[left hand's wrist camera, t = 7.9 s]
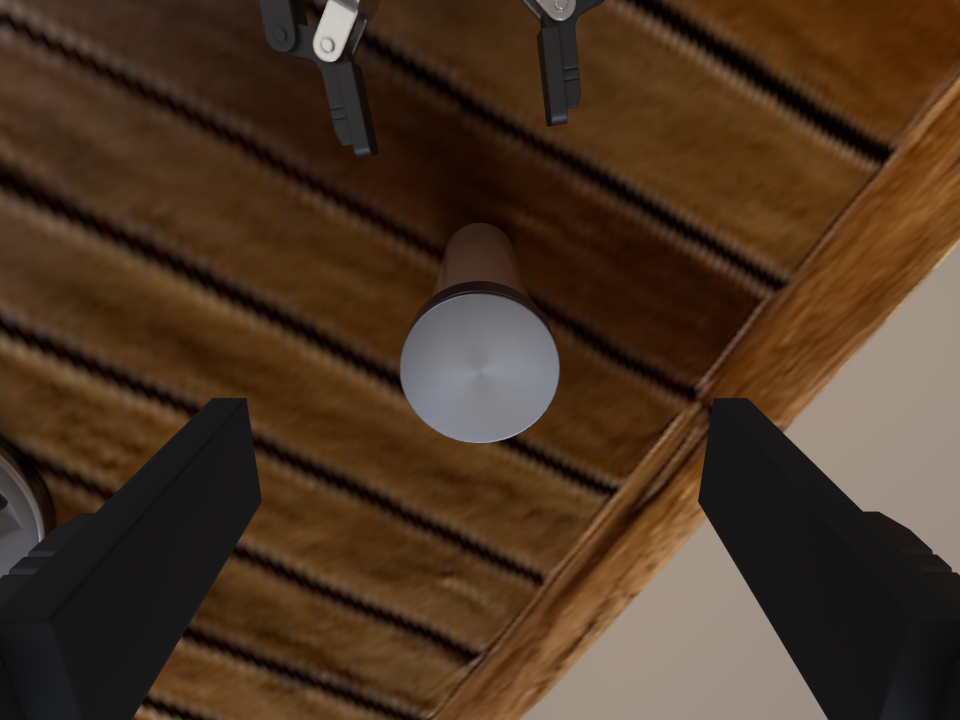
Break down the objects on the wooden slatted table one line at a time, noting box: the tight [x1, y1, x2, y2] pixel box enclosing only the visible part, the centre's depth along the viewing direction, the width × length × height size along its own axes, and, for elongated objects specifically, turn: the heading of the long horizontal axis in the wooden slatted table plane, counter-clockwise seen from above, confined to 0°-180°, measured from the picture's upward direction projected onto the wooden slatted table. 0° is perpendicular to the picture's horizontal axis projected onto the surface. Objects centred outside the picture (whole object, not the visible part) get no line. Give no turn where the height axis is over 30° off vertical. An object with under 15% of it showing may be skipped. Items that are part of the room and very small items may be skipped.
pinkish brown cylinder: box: [430, 223, 529, 299], centre depth 27 cm, size 4×4×17 cm
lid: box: [399, 281, 560, 443], centre depth 19 cm, size 5×5×2 cm
